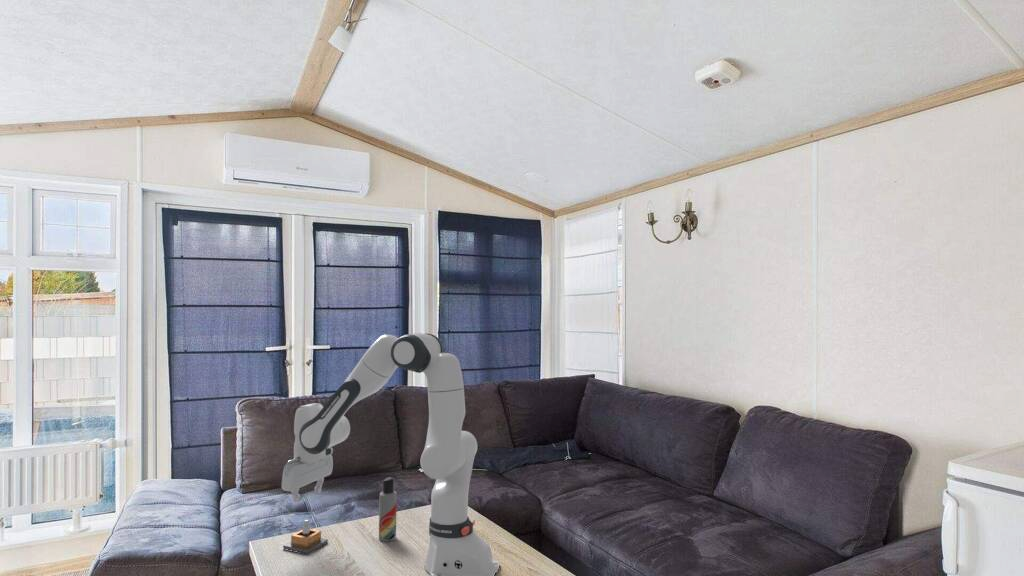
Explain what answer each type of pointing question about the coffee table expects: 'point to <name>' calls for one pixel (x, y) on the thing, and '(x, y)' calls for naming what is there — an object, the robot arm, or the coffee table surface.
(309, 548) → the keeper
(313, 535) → the wooden square frame
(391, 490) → the lotion bottle
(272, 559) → the coffee table surface
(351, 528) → the coffee table surface
